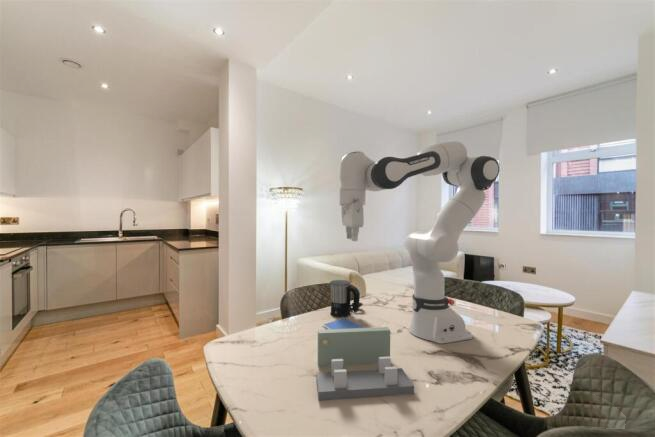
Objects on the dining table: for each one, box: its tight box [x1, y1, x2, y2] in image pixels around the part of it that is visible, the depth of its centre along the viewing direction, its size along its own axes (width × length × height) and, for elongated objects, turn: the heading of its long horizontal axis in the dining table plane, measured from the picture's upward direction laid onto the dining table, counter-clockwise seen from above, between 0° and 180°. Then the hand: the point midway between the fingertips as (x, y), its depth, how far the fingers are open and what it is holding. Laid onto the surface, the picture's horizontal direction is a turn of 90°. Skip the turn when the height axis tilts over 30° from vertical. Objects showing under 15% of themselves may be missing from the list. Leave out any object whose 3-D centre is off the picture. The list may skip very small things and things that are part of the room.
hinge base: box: [315, 356, 415, 401], centre depth 70 cm, size 24×8×6 cm, turn 96°
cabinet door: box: [317, 326, 391, 367], centre depth 81 cm, size 22×4×10 cm, turn 96°
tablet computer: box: [322, 317, 366, 329], centre depth 105 cm, size 19×13×1 cm, turn 37°
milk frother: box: [330, 279, 363, 318], centre depth 125 cm, size 14×16×15 cm
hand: (351, 239), depth 92 cm, fingers open, 8 cm apart
